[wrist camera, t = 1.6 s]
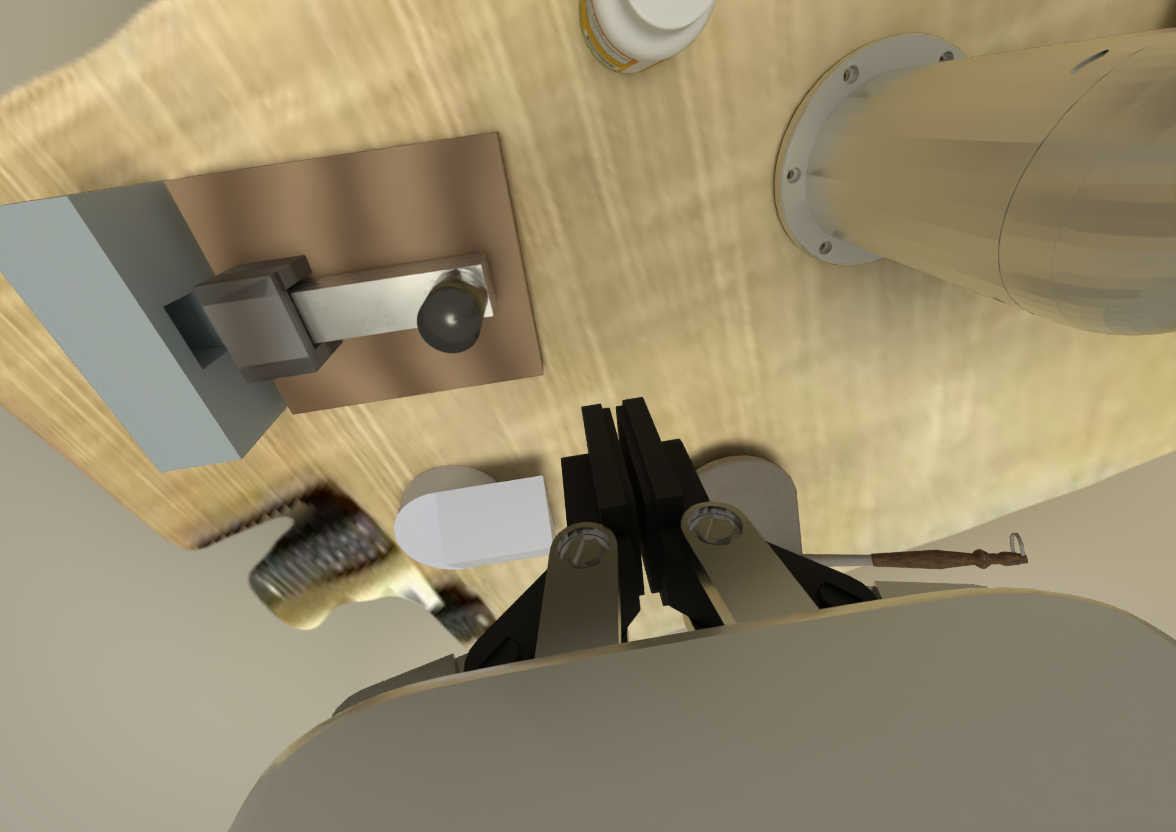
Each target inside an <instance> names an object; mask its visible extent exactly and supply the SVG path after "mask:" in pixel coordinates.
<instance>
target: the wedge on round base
mask: <svg viewBox="0 0 1176 832" xmlns="http://www.w3.org/2000/svg"><path fill="white" fill-rule="evenodd" d="M394 534H395V537H396V540H397V542H398V544H399V546H400V547H401V548H402V550H403V551H404V552H405V553H406V554H408V555H409V556H410V557H411V558H413V559H415V560H416V561H418V562H420V563H422V564H425V565H428V566H431V567H435V568H440V569H465V568H471V567H477V566H483V565H490V564H496V563H502V562H508V561H514V560H520V559H526V558H532V557H539V556H545V555H549V553H550V547H551V544H552V541H553V540H554V538H555V537H556V533H555V528H554V524H553V519H552V515H551V510H550V506H549V501H548V497H547V492H546V488H545V484H544V479H543V475H542V476H536V477H529V478H523V479H517V480H511V481H504V482H498V483H497V482H496V481H495V480H494V479H493V478H492V477H490V476H489V475H487V474H485V473H483V472H481V471H479V470H476V469H473V468H470V467H465V466H451V465H449V466H441V467H436V468H433V469H430V470H427V471H425V472H423V473H421V474H420V475H418V476H417V477H416V478H415V479H413V480H412V481H411V483H410V484H409V485H408V487H407V489H406V491H405V494H404V497H403V500H402V503H401V506H400V509H399V511H398V514H397V517H396V520H395V524H394Z"/></svg>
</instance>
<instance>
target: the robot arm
mask: <svg viewBox="0 0 1176 832" xmlns="http://www.w3.org/2000/svg"><path fill="white" fill-rule="evenodd" d="M845 72H846V77H845V79H844V77H843V76H844V73H845ZM789 171H790V172H791V174H790V176H789V178H787V174H788V172H789ZM775 201H776V206H777V210H778V214H779V218H780V220H781V223H782V225H783V227H784V229H785V231H786V233H787V234H788V236H789V237H790V238H791V239H792V241H793V242H794V243H795V244H796V246H798V247H799V248H800V249H802V250H803V251H805V252H806V253H807V254H809V255H811V256H813V257H815V258H817V259H819V260H821V261H825V262H828V263H832V264H835V265H858V264H864V263H870V262H873V261H875V260H878V259H881V258H884V257H885V258H888V259H890V260H893V261H896V262H898V263H901V264H903V265H906V266H909V267H911V268H914V269H917V270H919V271H922V272H924V273H927V274H930V275H932V276H935V277H938V278H940V279H943V280H945V281H948V282H951V283H953V284H956V285H959V286H961V287H964V288H966V289H969V290H972V291H974V292H977V293H980V294H982V295H985V296H987V297H990V298H993V299H995V300H998V301H1001V302H1003V303H1006V304H1009V305H1011V306H1014V307H1016V308H1019V309H1021V310H1024V311H1027V312H1029V313H1032V314H1036V315H1039V316H1042V317H1044V318H1047V319H1050V320H1052V321H1055V322H1058V323H1060V324H1064V325H1067V326H1070V327H1074V328H1077V329H1081V330H1085V331H1090V332H1095V333H1101V334H1110V335H1127V336H1136V335H1151V334H1162V333H1170V332H1175V331H1176V27H1172V28H1165V29H1158V30H1151V31H1145V32H1138V33H1131V34H1125V35H1118V36H1111V37H1104V38H1098V39H1091V40H1084V41H1078V42H1071V43H1064V44H1057V45H1051V46H1044V47H1037V48H1031V49H1024V50H1017V51H1010V52H1004V53H997V54H990V55H983V56H977V57H970V58H967V57H966V56H965V54H964V53H963V52H962V51H961V50H960V49H959V48H958V47H957V46H955V45H954V44H952V43H950V42H949V41H947V40H946V39H944V38H941V37H937V36H934V35H930V34H926V33H906V34H900V35H895V36H891V37H886V38H883V39H880V40H877V41H875V42H872V43H869V44H867V45H864V46H862V47H860V48H859V49H857V50H856V51H854V52H852V53H851V54H849V55H847V56H846V57H844V58H842V59H841V60H840V61H839V62H838V63H837V64H836V65H834V66H833V67H832V68H831V69H830V70H829V71H827V72H826V73H825V74H824V75H823V76H822V77H821V78H820V80H819V81H818V82H817V83H816V84H815V86H814V87H813V88H812V89H811V90H810V91H809V93H808V94H807V95H806V97H805V98H804V100H803V101H802V103H801V105H800V106H799V108H798V109H797V111H796V113H795V114H794V116H793V118H792V120H791V122H790V125H789V127H788V129H787V131H786V133H785V136H784V138H783V141H782V145H781V148H780V152H779V155H778V159H777V165H776V173H775ZM821 244H822V245H821ZM820 246H821V247H820ZM622 404H623V405H622V406H616V416H617V426H618V435H619V439H618V436H617V432H616V429H615V425H614V421H613V418H612V414H611V411H610V408H603V409H602V406H601V404H595V405H589V406H583V407H581V408H582V415H583V421H584V428H585V434H586V441H587V447H588V454H582V455H576V456H570V457H563V458H561V466H562V476H563V487H564V498H565V509H566V520H567V527H566V528H565V529H563V530H562V531H561V532H559V533H558V534H557V536H556V537H555V538H554V540H553V541H552V544H551V547H550V553H549V560H548V567H547V570H546V571H545V572H544V573H543V574H542V575H541V576H540V577H539V578H538V579H537V580H536V581H535V582H534V583H533V584H532V585H531V586H530V587H529V588H528V589H527V590H526V591H525V592H524V593H523V594H522V595H521V596H520V597H519V598H518V599H517V600H516V601H515V602H514V603H513V604H512V605H511V606H510V607H509V608H508V609H507V610H506V611H505V612H504V613H503V615H502V616H501V617H500V618H499V619H498V620H497V621H496V622H495V623H494V624H493V625H492V626H491V627H490V628H489V629H488V630H487V631H486V632H485V633H484V634H483V635H482V636H481V637H480V638H479V639H478V640H477V641H476V642H475V644H474V645H473V646H472V648H471V649H470V650H469V653H467V654H464V655H462V656H459V657H457V658H455V656H454V654H450V655H448V656H445V657H443V658H440V659H438V660H435V661H433V662H430V663H428V664H425V665H423V666H420V667H418V668H415V669H413V670H410V671H408V672H405V673H402V674H400V675H397V676H395V677H392V678H390V679H388V680H385V681H382V682H380V683H377V684H375V685H372V686H370V687H367V688H365V689H362V690H360V691H359V692H357V693H355V694H353V695H351V696H350V697H348V698H347V699H346V700H345V701H344V702H343V703H342V704H341V705H340V706H339V707H338V708H337V709H336V710H335V712H334V713H333V715H332V717H331V718H329V719H327V720H326V721H324V722H322V723H320V724H319V725H317V726H316V727H314V728H313V729H312V730H310V731H308V732H307V733H305V734H304V735H303V736H301V737H300V738H299V739H297V740H296V741H295V742H293V743H292V744H291V745H289V746H288V747H287V748H286V749H285V750H284V751H283V752H282V753H281V754H280V755H279V756H278V757H277V758H276V759H275V760H274V761H273V762H272V763H271V764H270V765H269V767H268V768H267V769H266V770H265V772H264V773H263V774H262V775H261V777H260V778H259V780H258V781H257V783H256V784H255V786H254V787H253V789H252V790H251V792H250V793H249V795H248V796H247V798H246V800H245V801H244V803H243V805H242V807H241V808H240V810H239V812H238V814H237V816H236V817H235V820H234V821H233V823H232V825H231V827H230V829H229V831H228V832H1176V640H1175V639H1173V638H1172V637H1170V636H1169V635H1167V634H1166V633H1164V632H1162V631H1161V630H1159V629H1157V628H1156V627H1154V626H1152V625H1151V624H1149V623H1148V622H1146V621H1144V620H1142V619H1140V618H1138V617H1136V616H1134V615H1133V614H1131V613H1128V612H1127V611H1124V610H1122V609H1119V608H1117V607H1114V606H1111V605H1109V604H1106V603H1103V602H1099V601H1096V600H1092V599H1088V598H1084V597H1079V596H1075V595H1071V594H1064V593H1057V592H1050V591H1043V590H1037V589H1026V588H1007V587H993V588H989V587H986V586H979V585H974V584H947V583H917V582H890V581H874V584H873V586H865V585H864V584H863V583H861V582H860V581H858V580H856V579H854V578H852V577H850V576H848V575H846V574H844V573H841V572H839V571H836V570H834V569H832V568H829V567H827V566H824V565H822V564H820V563H817V562H815V561H812V560H810V559H808V558H805V557H803V556H801V555H798V554H796V553H793V552H791V551H789V550H786V549H784V548H781V547H779V546H777V545H774V544H772V543H770V542H767V541H765V539H764V538H763V537H762V536H761V534H760V533H759V532H758V531H757V529H756V528H755V527H754V525H753V524H752V523H751V522H750V520H749V519H748V518H747V517H746V515H745V514H743V513H742V512H741V511H740V510H739V509H738V508H736V507H734V506H732V505H730V504H726V503H723V502H716V501H710V500H709V497H708V495H707V493H706V491H705V489H704V487H703V485H702V483H701V481H700V479H699V476H698V474H697V472H696V470H695V468H694V466H693V464H692V462H691V460H690V458H689V456H688V453H687V451H686V449H685V447H684V445H683V443H682V441H681V440H680V439H674V440H668V441H662V442H661V440H660V437H659V435H658V432H657V430H656V427H655V425H654V423H653V420H652V418H651V415H650V413H649V410H648V408H647V406H646V403H645V401H644V399H643V397H639V398H632V399H626V400H623V401H622ZM641 556H642V559H643V563H644V567H645V571H646V575H647V579H648V583H649V587H650V590H651V593H658V592H659V593H660V596H661V600H662V604H663V606H667V605H669V606H670V607H672V608H674V609H676V610H677V611H679V612H681V613H683V619H684V622H685V626H686V628H687V630H688V632H684V633H678V634H672V635H666V636H660V637H655V638H649V639H643V640H637V641H632V642H629V632H628V626H629V625H630V623H631V622H632V621H633V619H634V618H635V617H636V615H637V614H638V613H639V611H640V600H639V596H641V595H644V594H645V593H644V581H643V570H642V559H641Z"/></svg>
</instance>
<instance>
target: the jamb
mask: <svg viewBox="0 0 1176 832" xmlns="http://www.w3.org/2000/svg"><path fill="white" fill-rule="evenodd" d="M165 181H167V180H165ZM0 272H1V273H2V274H3V276H4V277H5V278H6V279H7V281H8V282H9V283H10V285H11V286H12V287H13V288H14V290H15V291H16V292H17V293H18V295H19V296H20V297H21V298H22V300H23V301H24V302H25V303H26V305H27V306H28V307H29V308H30V310H31V311H32V312H33V313H34V315H35V316H36V317H37V318H38V320H39V321H40V322H41V323H42V325H43V326H44V327H45V328H46V330H47V331H48V332H49V333H50V335H51V336H52V337H53V338H54V340H55V341H56V342H57V343H58V345H59V346H60V347H61V348H62V350H63V351H64V352H65V353H66V355H67V356H68V357H69V359H70V360H71V361H72V362H73V364H74V365H75V366H76V367H77V369H78V370H79V371H80V372H81V374H82V375H83V376H84V377H85V379H86V380H87V381H88V382H89V384H90V385H91V386H92V387H93V389H94V390H95V391H96V392H97V394H98V395H99V396H100V397H101V399H102V400H103V401H104V402H105V404H106V405H107V406H108V407H109V409H110V410H111V411H112V412H113V414H114V415H115V416H116V417H117V419H118V420H119V421H120V422H121V424H122V425H123V426H124V428H125V429H126V430H127V431H128V433H129V434H130V435H131V436H132V438H133V439H134V440H135V441H136V443H137V444H138V445H139V446H140V448H141V449H142V450H143V451H144V453H145V454H146V455H147V456H148V458H149V459H150V460H151V461H152V463H153V464H154V465H155V466H156V468H157V469H158V470H159V471H160V472H166V471H172V470H179V469H185V468H191V467H198V466H204V465H210V464H216V463H223V462H229V461H235V460H242V458H243V457H244V456H245V455H246V454H247V453H248V451H249V450H250V449H251V448H252V447H253V446H254V445H255V443H256V442H257V441H258V440H259V439H260V438H261V436H262V435H263V434H264V433H265V432H266V431H267V429H268V428H269V427H270V426H271V425H272V424H273V422H274V421H275V420H276V419H277V418H278V417H279V415H280V414H281V413H282V412H283V411H284V410H285V409H286V407H287V406H288V405H287V404H286V402H285V400H284V398H283V396H282V394H281V393H280V391H279V389H278V387H277V385H276V384H275V382H274V380H273V379H271V380H265V381H258V382H252V383H247V382H246V380H245V379H244V377H243V375H242V374H241V372H240V370H239V368H238V367H237V365H236V363H235V362H234V360H233V358H232V357H231V355H230V353H229V352H228V350H227V348H226V346H225V345H224V343H223V341H222V340H221V338H220V336H219V335H218V333H217V331H216V329H215V328H214V326H213V324H212V323H211V321H210V319H209V318H208V316H207V314H206V312H205V311H204V309H203V307H202V306H201V304H200V302H199V301H198V299H197V297H196V295H195V294H194V292H193V290H192V289H191V287H193V286H195V285H197V284H199V283H201V282H203V281H205V280H208V279H210V278H212V277H214V276H216V275H215V273H214V271H213V269H212V268H211V266H210V264H209V262H208V260H207V259H206V257H205V255H204V253H203V251H202V250H201V248H200V246H199V244H198V242H197V240H196V239H195V237H194V235H193V233H192V231H191V230H190V228H189V226H188V224H187V222H186V221H185V219H184V217H183V215H182V213H181V211H180V210H179V208H178V206H177V204H176V202H175V201H174V199H173V197H172V195H171V193H170V192H169V190H168V188H167V186H166V184H165V183H164V181H158V182H151V183H145V184H138V185H131V186H124V187H117V188H110V189H103V190H97V191H90V192H83V193H76V194H70V195H64V196H57V197H51V198H44V199H38V200H31V201H25V202H19V203H12V204H6V205H0Z"/></svg>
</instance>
